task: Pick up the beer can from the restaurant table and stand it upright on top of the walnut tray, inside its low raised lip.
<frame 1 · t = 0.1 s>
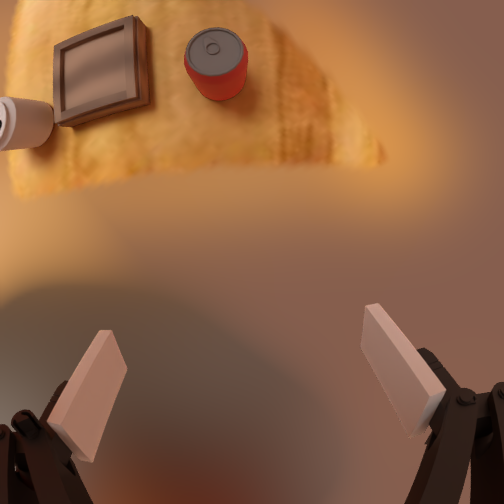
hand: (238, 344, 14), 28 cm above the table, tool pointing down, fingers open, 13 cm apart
beer can: (220, 79, 34), on the table
walnut tray: (105, 74, 32), on the table
can: (40, 124, 33), on the table
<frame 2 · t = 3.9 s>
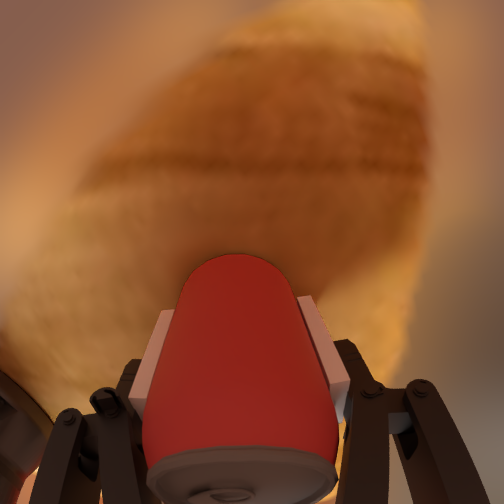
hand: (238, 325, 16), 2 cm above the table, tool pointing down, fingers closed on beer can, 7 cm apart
beer can: (236, 300, 17), on the table, touching gripper
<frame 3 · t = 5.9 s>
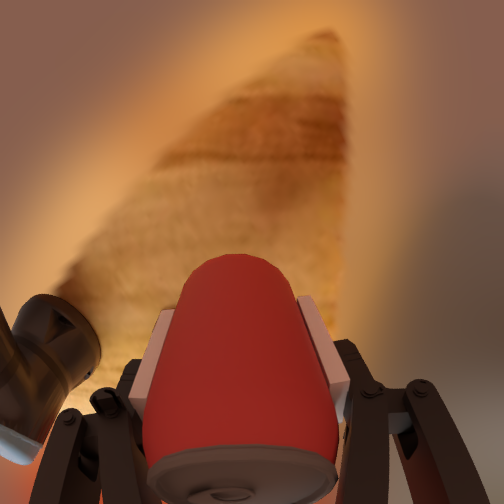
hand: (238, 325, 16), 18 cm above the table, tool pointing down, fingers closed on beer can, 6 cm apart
beer can: (236, 300, 17), point 16 cm above the table, touching gripper
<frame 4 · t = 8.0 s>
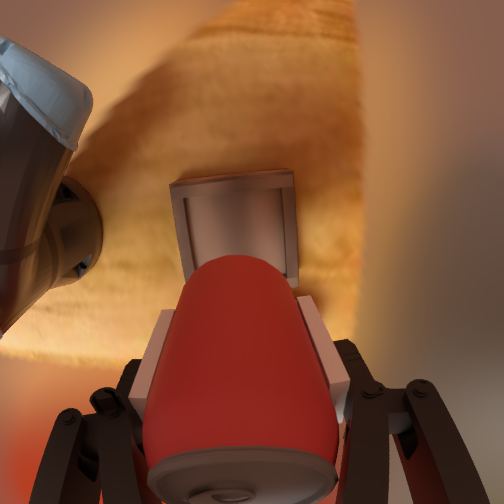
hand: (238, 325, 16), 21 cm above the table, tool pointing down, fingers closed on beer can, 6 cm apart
beer can: (237, 300, 17), point 19 cm above the table, touching gripper
walnut tray: (237, 227, 35), on the table
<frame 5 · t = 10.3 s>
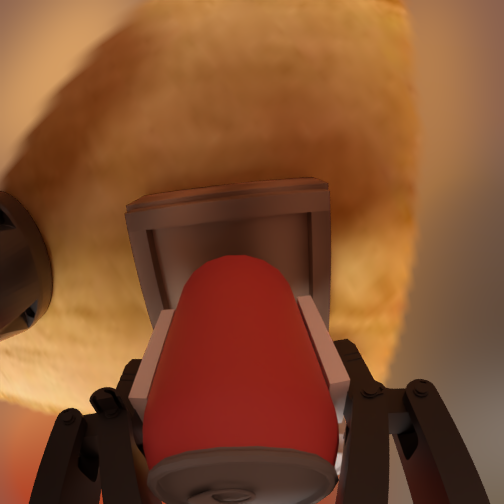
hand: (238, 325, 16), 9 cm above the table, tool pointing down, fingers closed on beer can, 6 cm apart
beer can: (237, 301, 17), point 6 cm above the table, touching gripper
walnut tray: (236, 265, 24), on the table
when the fingers open (6 cm above the table, at t = 12.2 s): beer can stays where it is, resting on walnut tray.
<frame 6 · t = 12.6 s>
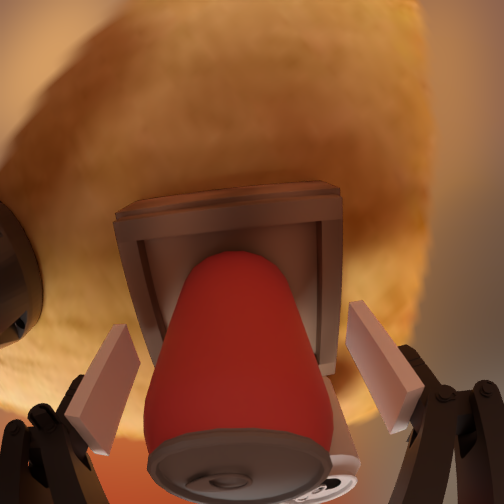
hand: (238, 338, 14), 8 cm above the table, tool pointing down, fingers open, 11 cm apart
beer can: (236, 296, 18), point 4 cm above the table, touching walnut tray
walnut tray: (237, 276, 22), on the table
can: (293, 388, 26), on the table
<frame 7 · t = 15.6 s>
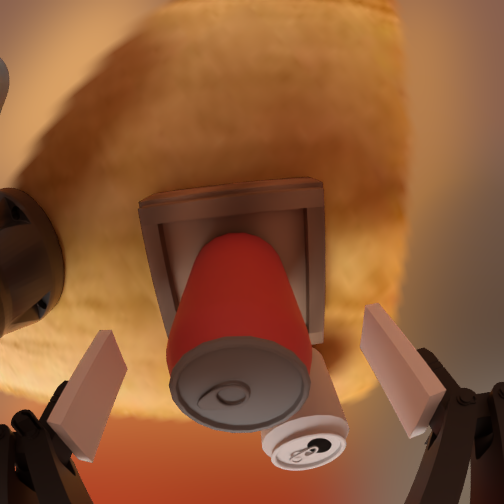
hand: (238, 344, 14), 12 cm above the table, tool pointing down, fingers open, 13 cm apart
beer can: (237, 272, 22), point 4 cm above the table, touching walnut tray
walnut tray: (238, 258, 25), on the table
can: (288, 364, 30), on the table
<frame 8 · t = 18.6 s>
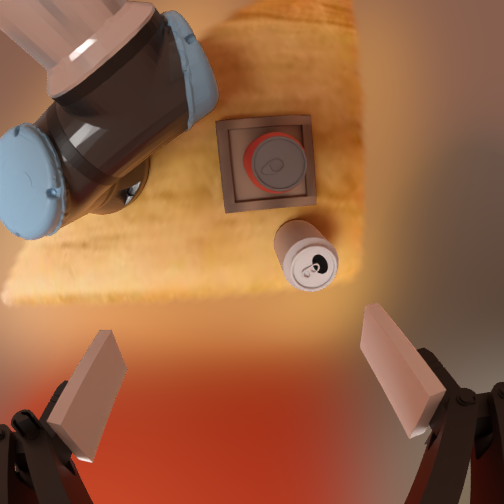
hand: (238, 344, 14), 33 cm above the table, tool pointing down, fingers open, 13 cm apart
beer can: (266, 159, 39), point 4 cm above the table, touching walnut tray
walnut tray: (264, 161, 42), on the table
can: (295, 240, 47), on the table
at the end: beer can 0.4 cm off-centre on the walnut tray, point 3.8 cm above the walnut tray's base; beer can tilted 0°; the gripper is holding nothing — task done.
